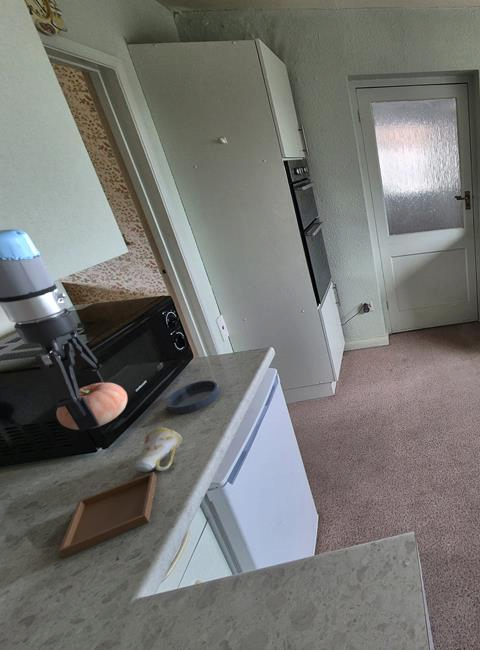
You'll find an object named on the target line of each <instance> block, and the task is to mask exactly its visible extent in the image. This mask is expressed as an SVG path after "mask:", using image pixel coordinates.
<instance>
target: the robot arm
mask: <svg viewBox="0 0 480 650" xmlns="http://www.w3.org/2000/svg"><path fill="white" fill-rule="evenodd" d="M66 298H67V297H66V294H65V293H63V292H62V293H61V292H60V290H59V288H58V287H57V285H56V283H55V281H54V280H53V278H52V275H51V274H50V271H49V270H48V268H47V266H46V264H45V262H44V260H43V258H42V256H41V252H40V251H39V250H38V249H37V246H35V244H34V243H33V241H32V239H31V237H30V236H29V235H28V233H27V232H25V230H21V229H15V228H13V229H0V307H1V309H2V310H3V312H4V314H5V315H6V317H7V319H8V320H9V322H11V323H14V326H13V327H14V329H15V331H16V332H17V334H18V336H19V337H20V339H21V341H22V342H23V343H26V344H29V345H30V344H31V345H32V344H36V345H39V346H40V349H41V350H40V352H41V354H39V355H36V356H35V361H36V362H37V364H38V366H39V368H40V369H41V372H42V374H43V377H44V379H45V381H46V383H47V387H48V389H49V391H50V394H51V397H52V400H53V401H54V405H55V407H56V408H60V407H63V406H65V407H66V409H67V410H68V412H69V413H70V415H71V417H72V418H73V420H74V422H75V423H76V425H77V426H78V428H79V430H78V431H80V432H84V431H88V430H90V429H95V428H98V427H97V426H99V422H98V420H97V419H96V417H95V415H94V414H93V412H92V410H91V408H90V407H89V405H88V403H87V402H86V400H85V398H84V397H82V398H81V396H80V393H79V389H80V388H79V386H78V382H77V379H76V375H75V374H76V373H75V371H74V368H75V369H76V370H77V371H79V373H81V374H80V378H81V380H82V382H83V384H84V385H85V386H89V385H91V384H96V383H105V381H104V380H103V378H102V376H101V374H100V372H99V369H102V364H101V363H100V362H98V359H97V358H96V356H95V355H94V354H93V352H92V351H91V350H90V348H89V347H88V346H87V344H86V343H85V342H84V340H83V339H82V338H81V336H80V335H79V332H78V331H77V329H78V327H79V326H78V325H79V324H78V323H77V321H76V319H75V317H74V316H73V314H72V312H71V311H70V310H68V309H67V307H68V305H67V304H66V303H67V302H66V301H65V299H66ZM94 427H95V428H94ZM99 427H100V426H99Z"/></svg>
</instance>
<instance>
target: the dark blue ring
mask: <svg viewBox="0 0 480 650" xmlns="http://www.w3.org/2000/svg"><path fill="white" fill-rule="evenodd" d="M220 393H221V391H220V387H219V385H218V383H217V382H216V381H214V380H210V379H206V380H205V379H204V380H198V381H195V382H191V383H189V384H185V385H183V386H182V387H180V388H178V389H177V390H175V391H173V392H172V393H171V394H170V395H169V396H168V397H167V399H166V402H165V403H166V406H167V408H168V409H169V411H170V412H171V414H173V415H186V414H190V413H194V412H197V411H199V410H201V409H203V408H206V407H208V406H209V405H211V404H212V403H214V401H216V399H217V398H219V396H220Z"/></svg>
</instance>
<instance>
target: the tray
mask: <svg viewBox="0 0 480 650" xmlns="http://www.w3.org/2000/svg"><path fill="white" fill-rule="evenodd" d="M157 481H158V477H157V475H156V473H155V471H152V472H150V473H147V474H145V475H142V476H139V477H137V478H134V479H131V480H129V481H126V482H123V483H121V484H118V485H116V486H114V487H109V488H107V489H105V490H103V491H100V492H97V493H95V494H92V495H89V496H86V497H84V498H81V499H79V500H78V502H77V504H76V507H75V509H74V511H73V514H72V516H71V519H70V522H69V524H68V526H67V529H66V531H65V533H64V536H63V539H62V541H61V544H60V546H59V548H58V551H57V553H58V554H59V555H60V556H61V558H62V559H66V558H68V557H70V556H72V555H75V554H77V553H79V552H82V551H84V550H85V549H88V548H91V547H94V546H96V545H98V544H101V543H102V542H106V541H108V540H109V539H112V538H115V537H118V536H119V535H122V534H124V533H126V532H129V531H131V530H133V529H136V528H138V527H141V526H143V525H145V524H147V523H149V522H150V517H151V514H152V513H151V512H152V508H153V501H154V496H155V491H156V486H157Z"/></svg>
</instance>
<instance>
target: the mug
mask: <svg viewBox="0 0 480 650" xmlns="http://www.w3.org/2000/svg"><path fill="white" fill-rule="evenodd" d="M182 441H183V436H182V435H180V433H179V432H176V431H175V430H172V429H169V428H166V427H154V428H153V429H151V430H150V431H149V433H148V434H147V435H146V437H145V440H144V444H143V448H142V451H141V453H140V456H139V457H138V458H137V459H136V461H135V462H134V463H135V464H134V465H135V468H136V469H137V471H139V472H144V473H148V472H151V471H153V470H154V469H156V471H157V472H164V471H166V470H168V469H169V468H170V467H171V465H172V464H173V461H174V458H175V457H174V456H175V453H176V451H177V449H178V448H179V446H180V445H181V443H182ZM168 456H169V462H168V463H167V464H166V465H164V466H160V465H161V461H162V460H163V459H165V458H167V457H168Z"/></svg>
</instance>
